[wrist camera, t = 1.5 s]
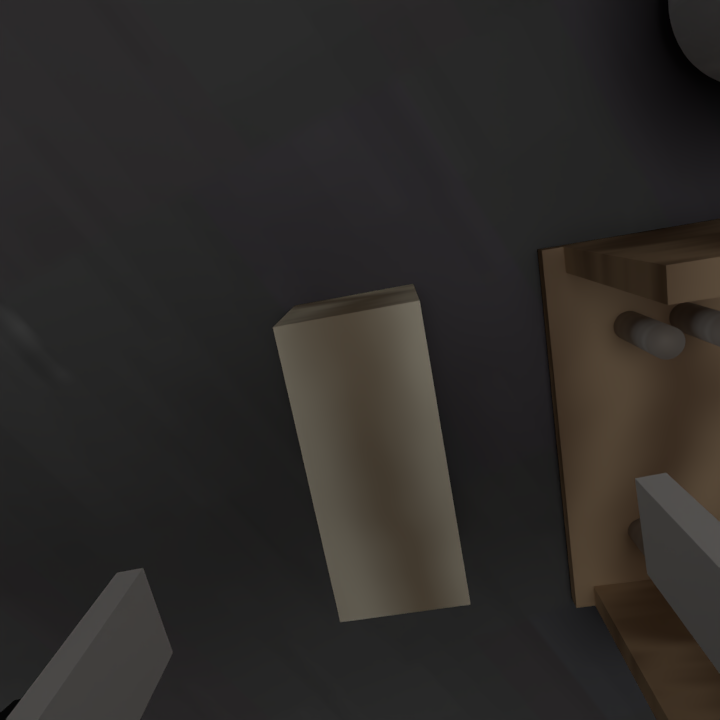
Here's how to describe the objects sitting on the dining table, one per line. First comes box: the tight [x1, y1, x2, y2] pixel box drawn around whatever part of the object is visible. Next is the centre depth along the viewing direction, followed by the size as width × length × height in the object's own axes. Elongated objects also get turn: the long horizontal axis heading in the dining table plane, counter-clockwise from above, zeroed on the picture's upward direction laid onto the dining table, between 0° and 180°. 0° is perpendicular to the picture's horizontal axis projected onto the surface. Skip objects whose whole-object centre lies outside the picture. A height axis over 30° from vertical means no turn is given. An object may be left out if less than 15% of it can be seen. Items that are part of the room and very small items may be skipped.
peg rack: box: [538, 219, 720, 720], centre depth 24 cm, size 10×19×11 cm, turn 10°
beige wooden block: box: [273, 284, 471, 622], centre depth 28 cm, size 6×14×6 cm, turn 11°
